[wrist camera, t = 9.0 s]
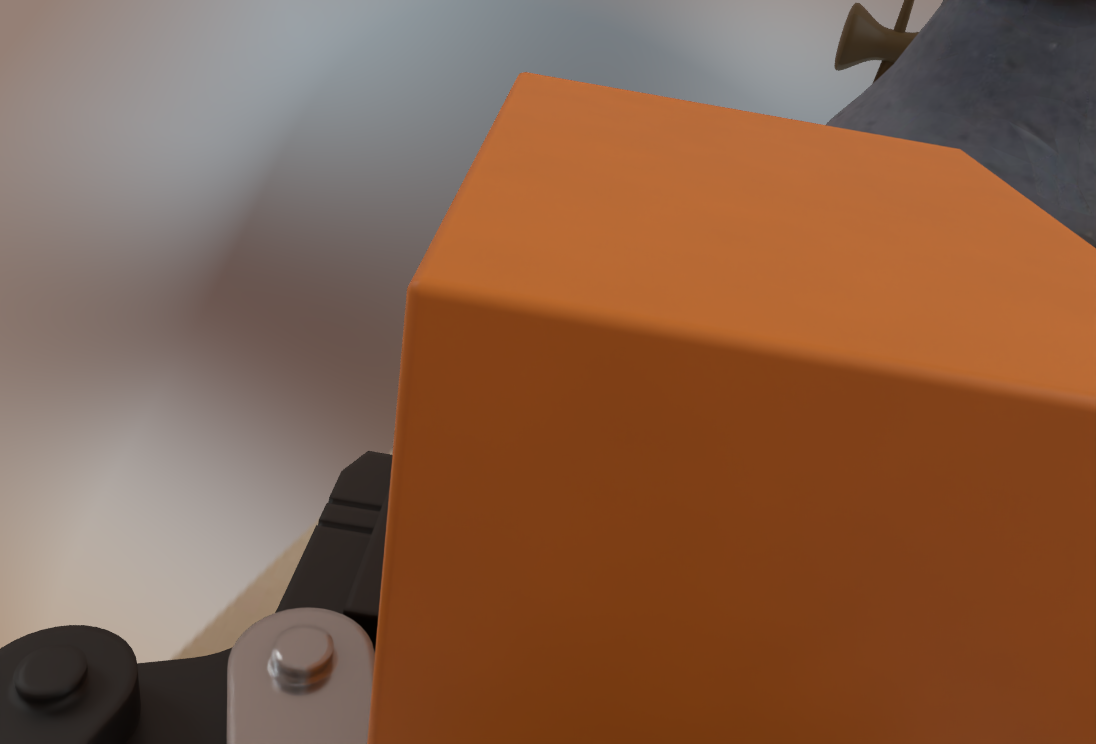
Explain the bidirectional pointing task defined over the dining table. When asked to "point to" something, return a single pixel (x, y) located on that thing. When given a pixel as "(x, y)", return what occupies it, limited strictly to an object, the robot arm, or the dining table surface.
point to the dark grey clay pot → (1001, 97)
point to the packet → (738, 442)
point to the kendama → (873, 39)
